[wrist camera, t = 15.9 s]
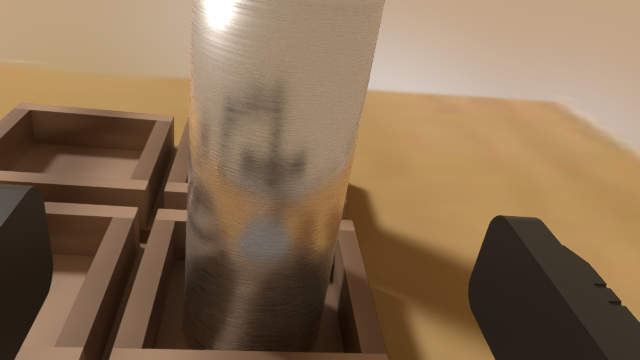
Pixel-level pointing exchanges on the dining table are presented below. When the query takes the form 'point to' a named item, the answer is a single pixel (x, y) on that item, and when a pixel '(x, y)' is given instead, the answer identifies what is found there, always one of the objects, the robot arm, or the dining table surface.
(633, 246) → the dining table surface
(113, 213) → the tray
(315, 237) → the steel billet
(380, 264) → the dining table surface
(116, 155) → the tray
